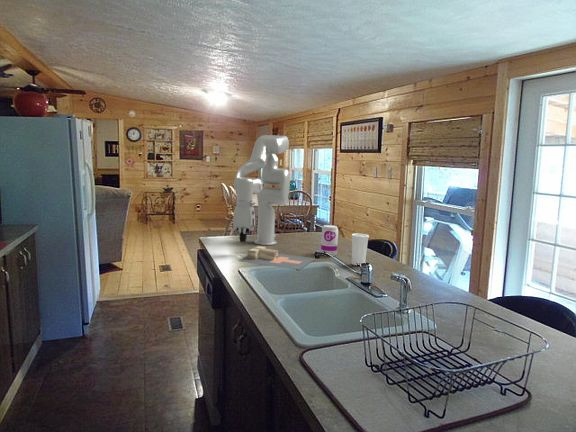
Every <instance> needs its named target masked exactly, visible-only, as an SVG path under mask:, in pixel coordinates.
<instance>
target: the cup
mask: <svg viewBox="0 0 576 432" xmlns="http://www.w3.org/2000/svg"><path fill="white" fill-rule="evenodd" d="M369 238H370V236H369V234H365V233H351V265H353V266H357V264H356V262H355V260H356V261H357V262H358V263H360V264H361V263H365V264H366V258H367V252H368V251H367V250H368V243H369Z"/></svg>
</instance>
